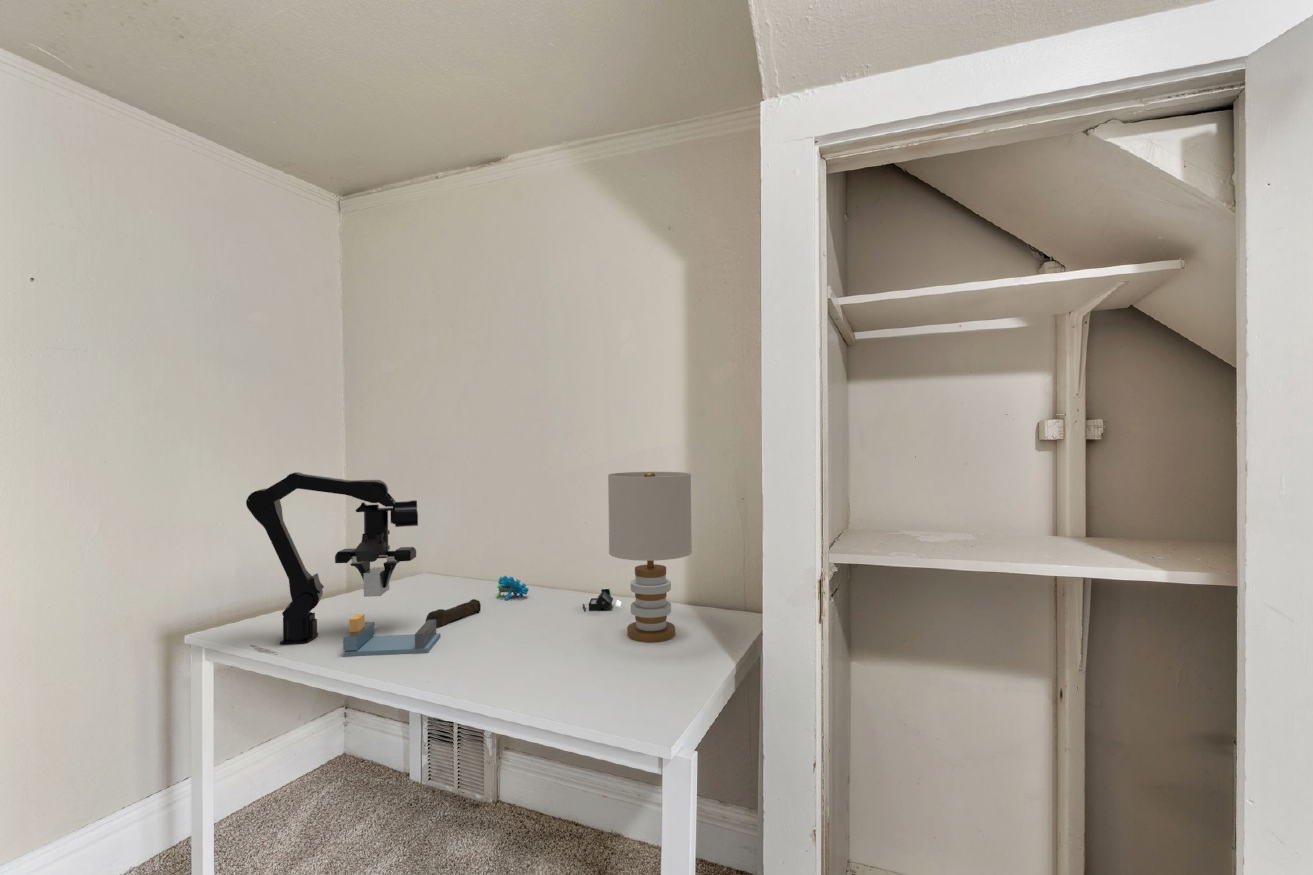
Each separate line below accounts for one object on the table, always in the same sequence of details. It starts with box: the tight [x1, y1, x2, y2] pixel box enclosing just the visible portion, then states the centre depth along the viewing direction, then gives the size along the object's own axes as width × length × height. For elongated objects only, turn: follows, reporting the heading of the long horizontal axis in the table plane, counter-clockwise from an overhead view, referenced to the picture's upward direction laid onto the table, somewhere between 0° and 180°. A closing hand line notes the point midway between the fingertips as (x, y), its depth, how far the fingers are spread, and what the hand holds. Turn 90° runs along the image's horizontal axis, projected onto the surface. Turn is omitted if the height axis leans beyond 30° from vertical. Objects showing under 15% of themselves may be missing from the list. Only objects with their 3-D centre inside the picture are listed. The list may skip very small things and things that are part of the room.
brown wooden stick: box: [424, 598, 482, 629], centre depth 166 cm, size 19×4×5 cm, turn 152°
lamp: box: [607, 471, 693, 643], centre depth 152 cm, size 21×21×41 cm
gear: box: [495, 575, 529, 601], centre depth 188 cm, size 11×6×10 cm
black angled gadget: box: [582, 587, 622, 613], centre depth 176 cm, size 15×15×6 cm
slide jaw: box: [342, 613, 375, 652], centre depth 145 cm, size 3×11×6 cm, turn 6°
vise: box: [342, 620, 441, 657], centre depth 145 cm, size 19×11×4 cm, turn 96°
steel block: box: [363, 566, 390, 598], centre depth 157 cm, size 4×7×6 cm, turn 6°
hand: (376, 587), depth 157 cm, fingers closed on steel block, 4 cm apart
